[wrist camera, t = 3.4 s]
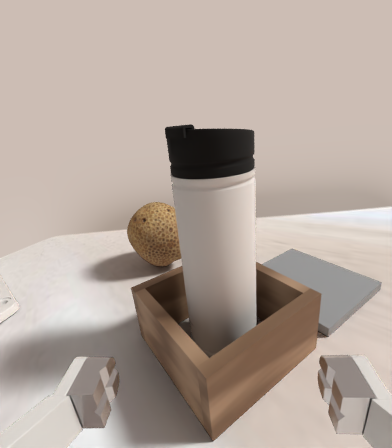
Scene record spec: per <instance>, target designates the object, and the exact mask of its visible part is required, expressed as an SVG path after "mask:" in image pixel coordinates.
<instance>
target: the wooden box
mask: <svg viewBox="0 0 392 448" xmlns="http://www.w3.org/2000/svg"><path fill="white" fill-rule="evenodd" d="M131 290H132V294H133V299H134V303H135V308H136V312H137V317H138V321H139V326H140V330H141V335H142V337H143V338H144V340H145V341H146V343H147V344H148V346H149V347H150V349H151V350H152V352H153V353H154V355H155V356H156V358H157V359H158V361H159V362H160V364H161V365H162V367H163V368H164V369H165V371H166V372H167V374H168V375H169V377H170V378H171V380H172V381H173V383H174V384H175V386H176V387H177V389H178V390H179V392H180V393H181V395H182V396H183V398H184V399H185V400H186V402H187V403H188V405H189V406H190V408H191V409H192V411H193V412H194V414H195V415H196V417H197V418H198V420H199V421H200V423H201V424H202V426H203V427H204V429H205V430H206V431H207V433H208V434H209V436H210V437H211V439H212V440H213V441H214V440H215V439H216V438H217V437H218V436H220V435H221V434H222V433H223V432H224V431H225V430H226V429H227V428H228V427H229V426H231V425H232V424H233V423H234V422H235V421H236V420H237V419H238V418H239V417H240V416H242V415H243V414H244V413H245V412H246V411H247V410H248V409H249V408H250V407H251V406H253V405H254V404H255V403H256V402H257V401H258V400H259V399H260V398H261V397H262V396H264V395H265V394H266V393H267V392H268V391H269V390H270V389H271V388H272V387H274V386H275V385H276V384H277V383H278V382H279V381H280V380H281V379H282V378H283V377H285V376H286V375H287V374H288V373H289V372H290V371H291V370H292V369H293V368H294V367H296V366H297V365H298V364H299V363H300V362H301V361H302V360H303V359H304V358H305V357H307V356H308V355H309V354H310V353H311V352H312V351H313V350H314V349H315V348H316V343H317V333H318V324H319V314H320V304H321V295H322V294H321V293H319V292H317V291H315V290H313V289H311V288H309V287H307V286H305V285H303V284H301V283H299V282H297V281H295V280H292V279H290V278H288V277H286V276H284V275H282V274H280V273H278V272H276V271H274V270H272V269H270V268H268V267H266V266H264V265H262V264H260V263H258V262H256V316H257V317H258V318H259V319H261V320H262V322H261V323H259V324H258V325H257V326H255V327H254V328H252V329H251V330H249V331H248V332H246V333H245V334H244V335H242V336H241V337H239V338H238V339H236V340H235V341H233V342H232V343H231V344H229V345H228V346H226V347H225V348H223V349H222V350H220V351H219V352H218V353H216V354H215V355H213V356H212V357H210V358H209V357H208V356H207V355H206V354H205V353H204V352H203V351H202V350H201V349H200V348H199V347H198V345H197V344H196V343H195V342H194V341H193V340H192V339H191V338H190V337H189V336H188V335H187V333H186V332H185V331H184V330H183V329H182V328H181V327H180V326H179V325H178V323H180V322H182V321H183V320H185V319H187V318H189V313H188V305H187V298H186V290H185V282H184V275H183V267H182V266H181V267H178V268H176V269H174V270H171V271H169V272H167V273H164V274H162V275H160V276H157V277H155V278H153V279H150V280H148V281H146V282H143V283H141V284H139V285H136V286H134V287H132V288H131Z"/></svg>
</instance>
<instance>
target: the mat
mask: <svg viewBox="0 0 392 448" xmlns="http://www.w3.org/2000/svg"><path fill="white" fill-rule="evenodd" d="M262 265H264V266H266V267H268V268H270V269H272V270H274V271H276V272H278V273H280V274H282V275H284V276H286V277H288V278H290V279H292V280H295V281H297V282H299V283H301V284H303V285H305V286H307V287H309V288H311V289H313V290H315V291H317V292H319V293H321V294H322V295H321V304H320V314H319V324H318V331H319V332H321V333H322V334H324V335H326V336H327V337H329V336H330V335H331V334H332V333H333V332H334V331H335V330H336V329H337V328H338V327H340V326H341V325H342V324H343V323H344V322H345V321H346V320H347V319H348V318H350V317H351V316H352V315H353V314H354V313H355V312H356V311H357V310H358V309H359V308H361V307H362V306H363V305H364V304H365V303H366V302H367V301H368V300H369V299H370V298H372V297H373V296H374V295H375V294H376V293H377V292H378V291H379V290H380V288H381V283H382V282H379V281H377V280H374V279H371V278H369V277H366V276H363V275H361V274H358V273H355V272H353V271H350V270H347V269H345V268H342V267H339V266H337V265H334V264H332V263H329V262H326V261H324V260H321V259H318V258H316V257H313V256H310V255H308V254H305V253H302V252H300V251H297V250H294V249H290V250H288V251H286V252H285V253H283V254H281V255H279V256H277V257H275V258H273V259H271V260H269V261H267V262H266V263H264V264H262Z"/></svg>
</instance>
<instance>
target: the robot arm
mask: <svg viewBox="0 0 392 448" xmlns="http://www.w3.org/2000/svg"><path fill="white" fill-rule="evenodd" d="M18 309H19V304H18V303H17V301H16V299H15V298H14V296H13V295H12V293H11V291H10V290H9V288H8V286H7V285H6V283H5V282H4V280H3V278H2V277H1V275H0V323H1V322H2V321H4V320H5V319H7V318H8V317H10V316H11V315H13V314H14V313H15V312H16V311H17V310H18ZM319 363H320V366H321V369H320V370H319V371H318V384H319V389H320V392H321V395H322V398H323V400H324V401H325V402H326V403H327V404H328V405H329V411H328V413H329V416H330V418H331V421H332V423H333V426H334V429H335V431H336V434H355V435H363V437H364V438H365V439H366V440H367V441H368V442H369V443H370V444H371V446H372V447H373V448H392V395H391V394H390V392H389V391H388V389H387V388H386V386H385V384H384V383H383V381H382V380H381V378H380V377H379V375H378V374H377V372H376V371H375V369H374V368H373V366H372V365H371V363H370V361H369V360H368V358H367V357H366V356H364V355H325V356H321V357H320V361H319ZM115 364H116V363H115V360H114V358H113V357H76V358H75V359H74V360H73V362H72V363H71V365H70V367H69V368H68V370H67V372H66V373H65V375H64V377H63V378H62V380H61V382H60V383H59V385H58V387H57V388H56V390H55V392H54V393H53V395H51V396H47V397H46V398H45V399H44V400H42V401H41V402H40V403H38V404H37V405H36V406H35V407H33V408H32V409H31V410H30V411H28V412H27V413H26V414H25V415H23V416H22V417H21V418H20V419H18V420H17V421H16V422H14V423H13V424H12V425H11V426H9V427H8V428H7V429H6V430H4V431H3V432H2V433H1V434H0V448H67V447H68V446H69V445H70V444H71V443H72V441H73V440H74V439H75V438H76V437H77V436H78V435H79V433H80V432H81V431H82V430H83V429H82V428H104V427H105V425H106V422H107V419H108V417H109V414H110V411H111V407H110V402H111V401H112V400H113V399H115V397H116V395H117V392H118V387H119V373H118V371H117V370H116V369H115V368H114V366H115Z"/></svg>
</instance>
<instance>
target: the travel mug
mask: <svg viewBox="0 0 392 448" xmlns="http://www.w3.org/2000/svg"><path fill="white" fill-rule="evenodd" d="M165 134H166V139H167V145H168V153H169V160H170V162H171V166H170V167H171V181H172V182H173V184H172V190H173V197H174V205H175V213H176V221H177V228H178V236H179V244H180V251H181V259H182V267H183V275H184V282H185V290H186V298H187V305H188V313H189V321H190V328H191V336H192V340H193V341H194V342H195V343H196V344H197V345H198V347H199V348H200V349H201V350H202V351H203V352H204V353H205V354H206V355H207V356H208V357H209V358H210V357H212V356H213V355H215V354H216V353H218V352H219V351H220V350H222V349H223V348H225V347H226V346H228V345H229V344H231V343H232V342H233V341H235V340H236V339H238V338H239V337H241V336H242V335H244V334H245V333H246V332H248V331H249V330H251V329H252V328H254V327H255V326H257V317H256V203H255V202H256V199H255V197H256V196H255V178H254V175H255V167H254V158H253V154H254V131H252V130H246V129H194V126H193V125H181V126H173V127H166V128H165Z"/></svg>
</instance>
